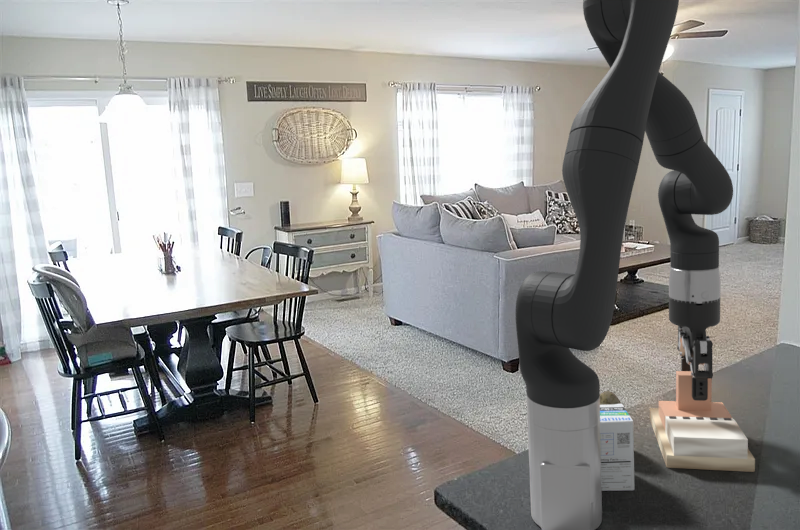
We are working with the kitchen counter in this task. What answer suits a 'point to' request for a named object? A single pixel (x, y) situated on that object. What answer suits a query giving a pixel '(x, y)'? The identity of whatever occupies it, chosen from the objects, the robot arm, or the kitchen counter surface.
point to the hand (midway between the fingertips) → (693, 389)
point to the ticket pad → (695, 460)
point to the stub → (691, 401)
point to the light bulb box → (616, 448)
